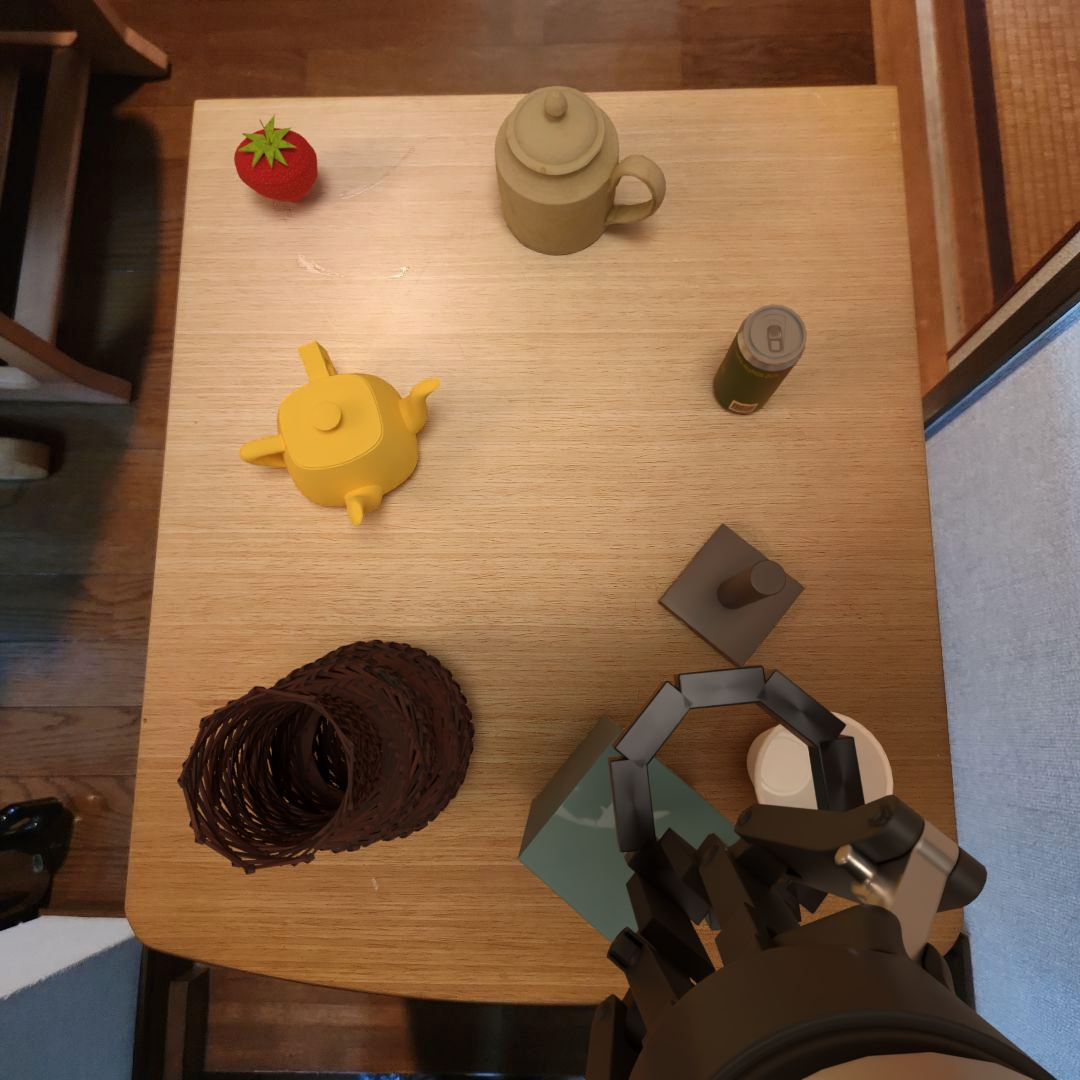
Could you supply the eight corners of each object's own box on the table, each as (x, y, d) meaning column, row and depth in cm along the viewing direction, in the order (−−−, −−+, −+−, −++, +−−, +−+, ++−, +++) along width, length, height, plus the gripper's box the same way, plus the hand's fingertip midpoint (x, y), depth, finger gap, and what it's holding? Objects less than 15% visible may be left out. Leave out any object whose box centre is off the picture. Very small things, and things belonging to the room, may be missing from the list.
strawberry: (258, 174, 78) (213, 101, 68) (333, 167, 78) (299, 94, 68) (258, 228, 77) (213, 162, 67) (334, 221, 76) (300, 154, 67)
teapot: (385, 546, 71) (356, 526, 61) (260, 480, 72) (213, 450, 62) (457, 417, 73) (441, 378, 63) (334, 355, 74) (299, 308, 64)
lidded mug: (652, 151, 77) (673, 27, 62) (655, 255, 75) (677, 152, 60) (501, 155, 77) (487, 32, 62) (501, 257, 75) (485, 156, 61)
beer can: (771, 415, 72) (812, 365, 60) (713, 417, 72) (742, 367, 60) (767, 360, 73) (807, 300, 61) (709, 362, 73) (738, 302, 61)
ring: (897, 772, 35) (913, 776, 33) (755, 969, 33) (764, 984, 32) (707, 622, 36) (714, 619, 35) (563, 805, 35) (564, 811, 33)
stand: (695, 790, 66) (750, 839, 47) (621, 884, 65) (646, 975, 46) (604, 712, 68) (621, 729, 48) (530, 804, 67) (517, 858, 47)
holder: (800, 589, 69) (856, 569, 56) (738, 668, 68) (780, 666, 55) (719, 526, 70) (756, 491, 57) (657, 602, 69) (679, 585, 56)
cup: (857, 734, 67) (914, 746, 56) (814, 844, 65) (864, 878, 55) (749, 685, 68) (785, 687, 57) (705, 792, 66) (733, 815, 56)
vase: (484, 643, 69) (426, 622, 39) (480, 824, 66) (414, 946, 37) (313, 641, 70) (128, 619, 40) (303, 821, 67) (97, 939, 37)
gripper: (993, 707, 11) (706, 685, 35) (327, 1637, 10) (496, 957, 33) (1475, 1073, 10) (845, 797, 34) (823, 2179, 9) (636, 1083, 32)
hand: (672, 876), depth 33 cm, fingers closed on ring, 2 cm apart
